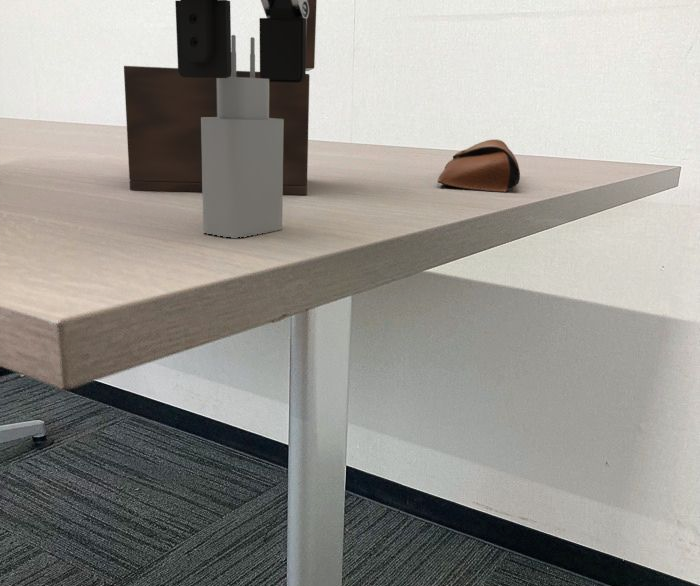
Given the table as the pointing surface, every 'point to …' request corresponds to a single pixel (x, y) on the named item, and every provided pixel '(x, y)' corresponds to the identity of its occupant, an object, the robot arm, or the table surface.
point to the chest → (199, 128)
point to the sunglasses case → (482, 168)
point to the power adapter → (242, 158)
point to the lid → (310, 35)
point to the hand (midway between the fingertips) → (247, 79)
